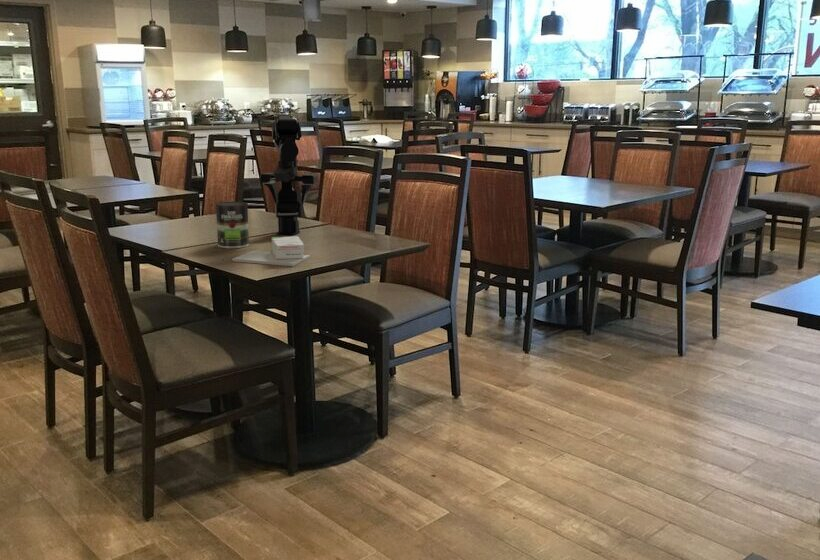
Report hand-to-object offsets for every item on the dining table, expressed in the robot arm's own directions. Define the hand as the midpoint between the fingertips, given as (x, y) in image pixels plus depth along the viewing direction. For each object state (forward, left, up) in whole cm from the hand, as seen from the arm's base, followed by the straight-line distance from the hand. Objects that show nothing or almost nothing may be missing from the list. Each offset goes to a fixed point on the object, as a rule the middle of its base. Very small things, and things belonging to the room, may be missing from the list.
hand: (289, 204), depth 250 cm
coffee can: (-15, -12, -13) cm, 23 cm away
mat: (+7, -27, -13) cm, 31 cm away
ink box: (+7, -18, -10) cm, 22 cm away
